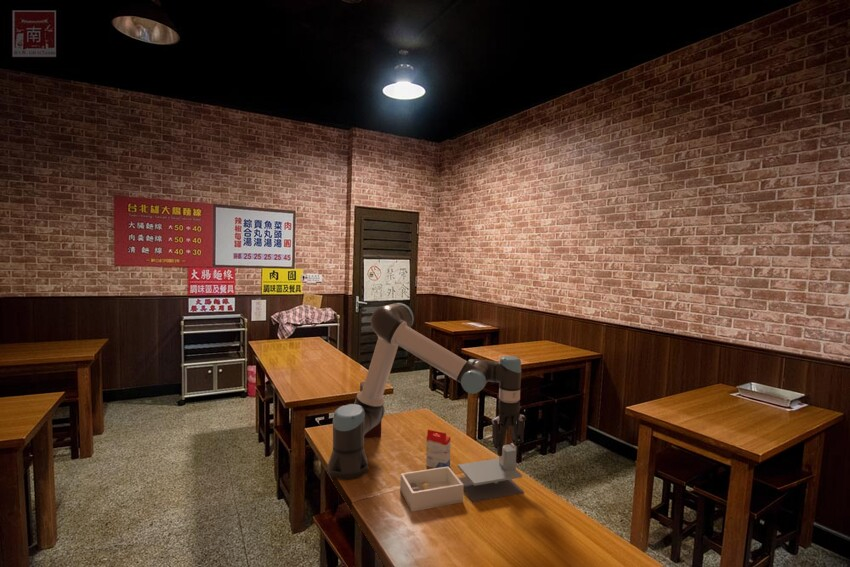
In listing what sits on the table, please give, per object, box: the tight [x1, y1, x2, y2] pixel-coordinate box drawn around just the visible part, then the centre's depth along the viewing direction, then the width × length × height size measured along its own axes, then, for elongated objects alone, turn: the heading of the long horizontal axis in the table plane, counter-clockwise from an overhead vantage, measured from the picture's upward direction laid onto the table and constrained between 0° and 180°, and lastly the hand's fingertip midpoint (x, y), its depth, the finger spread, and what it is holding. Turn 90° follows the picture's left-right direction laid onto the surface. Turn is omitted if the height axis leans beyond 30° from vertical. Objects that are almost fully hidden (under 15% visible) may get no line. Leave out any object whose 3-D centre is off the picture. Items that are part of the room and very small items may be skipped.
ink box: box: [425, 429, 451, 469], centre depth 163 cm, size 8×5×15 cm, turn 65°
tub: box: [399, 466, 464, 512], centre depth 142 cm, size 18×13×6 cm
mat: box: [458, 476, 525, 503], centre depth 150 cm, size 20×15×1 cm
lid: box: [457, 444, 523, 486], centre depth 149 cm, size 19×14×9 cm
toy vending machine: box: [359, 381, 383, 440], centre depth 192 cm, size 9×11×28 cm
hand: (507, 462), depth 152 cm, fingers closed on lid, 4 cm apart
